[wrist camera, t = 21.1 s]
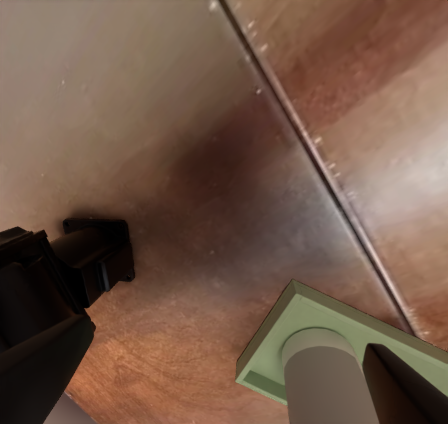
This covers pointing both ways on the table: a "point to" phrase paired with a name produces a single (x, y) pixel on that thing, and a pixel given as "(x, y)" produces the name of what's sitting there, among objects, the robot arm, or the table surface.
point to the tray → (334, 321)
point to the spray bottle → (325, 380)
